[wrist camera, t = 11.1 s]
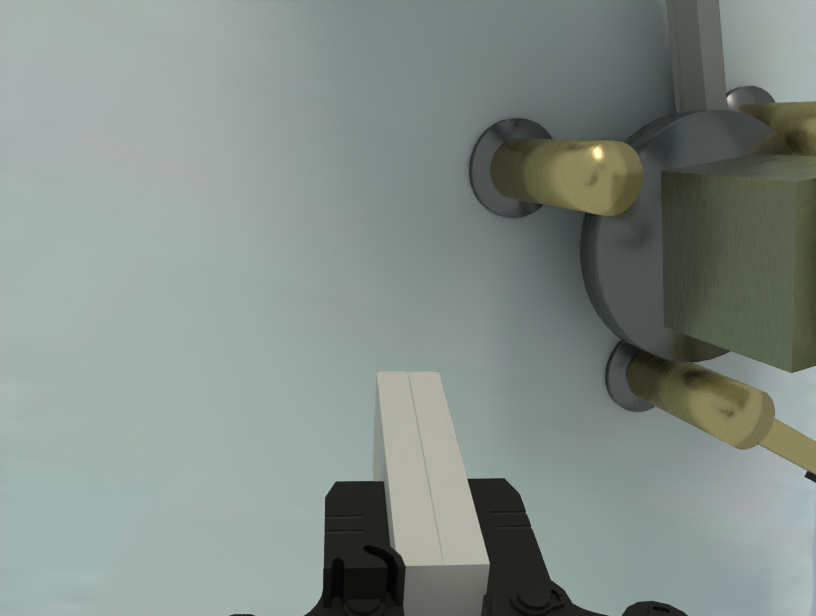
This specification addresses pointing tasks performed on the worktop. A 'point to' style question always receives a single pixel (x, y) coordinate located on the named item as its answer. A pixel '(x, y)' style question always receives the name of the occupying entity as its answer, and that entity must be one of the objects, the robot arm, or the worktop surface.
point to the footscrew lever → (719, 407)
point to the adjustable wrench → (696, 55)
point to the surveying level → (681, 227)
